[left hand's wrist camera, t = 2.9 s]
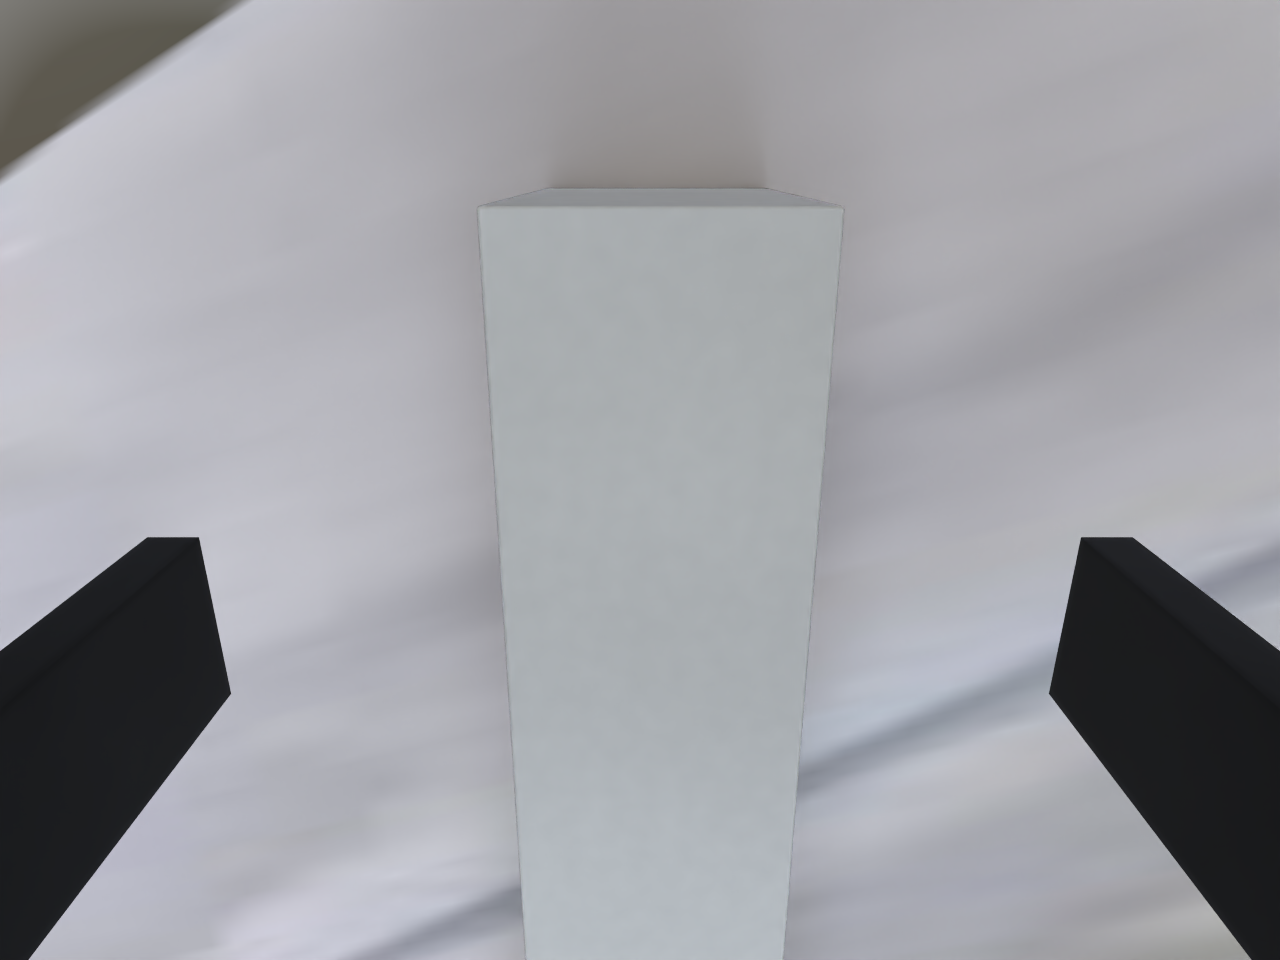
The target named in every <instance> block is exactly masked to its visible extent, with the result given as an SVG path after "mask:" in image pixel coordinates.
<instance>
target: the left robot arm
mask: <svg viewBox="0 0 1280 960" xmlns="http://www.w3.org/2000/svg"><path fill="white" fill-rule="evenodd" d="M230 694H231V691H230V687H229V682H228V677H227V672H226V667H225V662H224V657H223V652H222V648H221V643H220V638H219V633H218V628H217V623H216V618H215V614H214V609H213V604H212V599H211V594H210V589H209V584H208V580H207V575H206V570H205V565H204V560H203V555H202V550H201V545H200V541H199V537H147V538H146V539H145V540H143V541H142V542H141V543H140V544H138V545H137V546H136V547H134V548H133V549H132V550H130V551H129V552H128V553H127V554H125V555H124V556H123V557H121V558H120V559H119V560H118V561H116V562H115V563H114V564H112V565H111V566H110V567H108V568H107V569H106V570H105V571H103V572H102V573H101V574H99V575H98V576H97V577H96V578H94V579H93V580H92V581H90V582H89V583H88V584H86V585H85V586H84V587H83V588H81V589H80V590H79V591H77V592H76V593H75V594H74V595H72V596H71V597H70V598H68V599H67V600H66V601H64V602H63V603H62V604H61V605H59V606H58V607H57V608H55V609H54V610H53V611H52V612H50V613H49V614H48V615H46V616H45V617H44V618H42V619H41V620H40V621H39V622H37V623H36V624H35V625H33V626H32V627H31V628H30V629H28V630H27V631H26V632H24V633H23V634H22V635H20V636H19V637H18V638H17V639H15V640H14V641H13V642H11V643H10V644H9V645H8V646H6V647H5V648H4V649H2V650H1V651H0V960H29V958H30V957H31V956H32V954H33V953H34V952H35V950H36V949H37V948H38V946H39V945H40V944H41V942H42V941H43V940H44V939H45V937H46V936H47V935H48V933H49V932H50V931H51V929H52V928H53V927H54V925H55V924H56V923H57V921H58V920H59V919H60V918H61V916H62V915H63V914H64V912H65V911H66V910H67V908H68V907H69V906H70V904H71V903H72V902H73V900H74V899H75V898H76V897H77V895H78V894H79V893H80V891H81V890H82V889H83V887H84V886H85V885H86V883H87V882H88V881H89V879H90V878H91V877H92V876H93V874H94V873H95V872H96V870H97V869H98V868H99V866H100V865H101V864H102V862H103V861H104V860H105V858H106V857H107V856H108V855H109V853H110V852H111V851H112V849H113V848H114V847H115V845H116V844H117V843H118V841H119V840H120V839H121V837H122V836H123V835H124V834H125V832H126V831H127V830H128V828H129V827H130V826H131V824H132V823H133V822H134V820H135V819H136V818H137V816H138V815H139V814H140V813H141V811H142V810H143V809H144V807H145V806H146V805H147V803H148V802H149V801H150V799H151V798H152V797H153V795H154V794H155V793H156V791H157V790H158V789H159V788H160V786H161V785H162V784H163V782H164V781H165V780H166V778H167V777H168V776H169V774H170V773H171V772H172V770H173V769H174V768H175V767H176V765H177V764H178V763H179V761H180V760H181V759H182V757H183V756H184V755H185V753H186V752H187V751H188V749H189V748H190V747H191V746H192V744H193V743H194V742H195V740H196V739H197V738H198V736H199V735H200V734H201V732H202V731H203V730H204V728H205V727H206V726H207V725H208V723H209V722H210V721H211V719H212V718H213V717H214V715H215V714H216V713H217V711H218V710H219V709H220V707H221V706H222V705H223V704H224V702H225V701H226V700H227V698H228V697H229V696H230ZM1049 694H1050V696H1051V697H1052V698H1053V700H1054V701H1055V702H1056V704H1057V705H1058V706H1059V707H1060V709H1061V710H1062V711H1063V713H1064V714H1065V715H1066V717H1067V718H1068V719H1069V721H1070V722H1071V723H1072V725H1073V726H1074V727H1075V728H1076V730H1077V731H1078V732H1079V734H1080V735H1081V736H1082V738H1083V739H1084V740H1085V742H1086V743H1087V744H1088V746H1089V747H1090V748H1091V749H1092V751H1093V752H1094V753H1095V755H1096V756H1097V757H1098V759H1099V760H1100V761H1101V763H1102V764H1103V765H1104V767H1105V768H1106V769H1107V770H1108V772H1109V773H1110V774H1111V776H1112V777H1113V778H1114V780H1115V781H1116V782H1117V784H1118V785H1119V786H1120V788H1121V789H1122V790H1123V791H1124V793H1125V794H1126V795H1127V797H1128V798H1129V799H1130V801H1131V802H1132V803H1133V805H1134V806H1135V807H1136V809H1137V810H1138V811H1139V813H1140V814H1141V815H1142V816H1143V818H1144V819H1145V820H1146V822H1147V823H1148V824H1149V826H1150V827H1151V828H1152V830H1153V831H1154V832H1155V834H1156V835H1157V836H1158V837H1159V839H1160V840H1161V841H1162V843H1163V844H1164V845H1165V847H1166V848H1167V849H1168V851H1169V852H1170V853H1171V855H1172V856H1173V857H1174V858H1175V860H1176V861H1177V862H1178V864H1179V865H1180V866H1181V868H1182V869H1183V870H1184V872H1185V873H1186V874H1187V876H1188V877H1189V878H1190V879H1191V881H1192V882H1193V883H1194V885H1195V886H1196V887H1197V889H1198V890H1199V891H1200V893H1201V894H1202V895H1203V897H1204V898H1205V899H1206V900H1207V902H1208V903H1209V904H1210V906H1211V907H1212V908H1213V910H1214V911H1215V912H1216V914H1217V915H1218V916H1219V918H1220V919H1221V920H1222V921H1223V923H1224V924H1225V925H1226V927H1227V928H1228V929H1229V931H1230V932H1231V933H1232V935H1233V936H1234V937H1235V939H1236V940H1237V941H1238V942H1239V944H1240V945H1241V946H1242V948H1243V949H1244V950H1245V952H1246V953H1247V954H1248V956H1249V957H1250V958H1251V960H1280V651H1279V650H1278V649H1276V648H1275V647H1274V646H1272V645H1271V644H1270V643H1269V642H1267V641H1266V640H1265V639H1263V638H1262V637H1261V636H1260V635H1258V634H1257V633H1256V632H1254V631H1253V630H1252V629H1250V628H1249V627H1248V626H1247V625H1245V624H1244V623H1243V622H1241V621H1240V620H1239V619H1238V618H1236V617H1235V616H1234V615H1232V614H1231V613H1230V612H1228V611H1227V610H1226V609H1225V608H1223V607H1222V606H1221V605H1219V604H1218V603H1217V602H1216V601H1214V600H1213V599H1212V598H1210V597H1209V596H1208V595H1206V594H1205V593H1204V592H1203V591H1201V590H1200V589H1199V588H1197V587H1196V586H1195V585H1194V584H1192V583H1191V582H1190V581H1188V580H1187V579H1186V578H1184V577H1183V576H1182V575H1181V574H1179V573H1178V572H1177V571H1175V570H1174V569H1173V568H1172V567H1170V566H1169V565H1168V564H1166V563H1165V562H1164V561H1162V560H1161V559H1160V558H1159V557H1157V556H1156V555H1155V554H1153V553H1152V552H1151V551H1150V550H1148V549H1147V548H1146V547H1144V546H1143V545H1142V544H1140V543H1139V542H1138V541H1137V540H1135V539H1134V538H1133V537H1081V541H1080V545H1079V550H1078V555H1077V560H1076V565H1075V570H1074V575H1073V579H1072V584H1071V589H1070V594H1069V599H1068V604H1067V609H1066V614H1065V618H1064V623H1063V628H1062V633H1061V638H1060V643H1059V648H1058V652H1057V657H1056V662H1055V667H1054V672H1053V677H1052V682H1051V687H1050V691H1049Z"/></svg>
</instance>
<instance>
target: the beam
mask: <svg viewBox="0 0 1280 960" xmlns="http://www.w3.org/2000/svg"><path fill="white" fill-rule="evenodd" d="M477 220H478V235H479V251H480V266H481V281H482V297H483V312H484V328H485V343H486V358H487V374H488V389H489V404H490V420H491V435H492V451H493V466H494V481H495V497H496V512H497V528H498V543H499V558H500V574H501V589H502V605H503V620H504V635H505V651H506V666H507V681H508V697H509V712H510V728H511V743H512V758H513V774H514V789H515V805H516V820H517V835H518V851H519V866H520V882H521V897H522V912H523V928H524V943H525V958H526V960H783V958H784V946H785V933H786V921H787V909H788V896H789V884H790V872H791V860H792V847H793V835H794V823H795V811H796V798H797V786H798V774H799V762H800V749H801V737H802V725H803V713H804V700H805V688H806V676H807V663H808V651H809V639H810V627H811V614H812V602H813V590H814V578H815V565H816V553H817V541H818V529H819V516H820V504H821V492H822V480H823V467H824V455H825V443H826V430H827V418H828V406H829V394H830V381H831V369H832V357H833V345H834V332H835V320H836V308H837V296H838V283H839V271H840V259H841V246H842V234H843V222H844V207H842V206H840V205H835V204H831V203H827V202H823V201H818V200H814V199H810V198H805V197H801V196H797V195H792V194H788V193H784V192H779V191H775V190H771V189H767V188H547V189H543V190H539V191H535V192H531V193H527V194H523V195H519V196H516V197H512V198H508V199H504V200H500V201H496V202H492V203H488V204H484V205H481V206H478V208H477Z"/></svg>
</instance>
